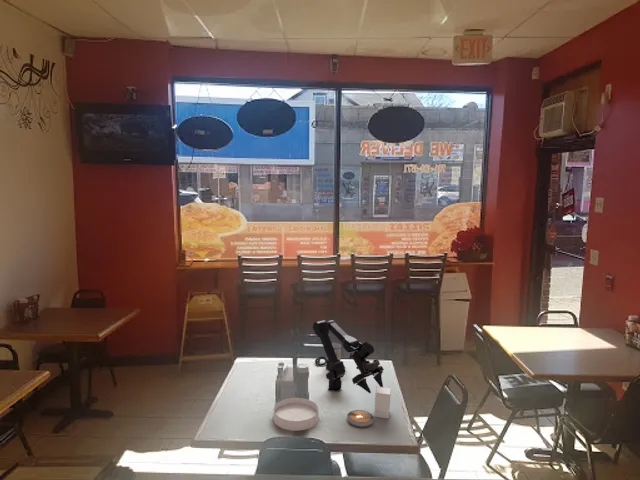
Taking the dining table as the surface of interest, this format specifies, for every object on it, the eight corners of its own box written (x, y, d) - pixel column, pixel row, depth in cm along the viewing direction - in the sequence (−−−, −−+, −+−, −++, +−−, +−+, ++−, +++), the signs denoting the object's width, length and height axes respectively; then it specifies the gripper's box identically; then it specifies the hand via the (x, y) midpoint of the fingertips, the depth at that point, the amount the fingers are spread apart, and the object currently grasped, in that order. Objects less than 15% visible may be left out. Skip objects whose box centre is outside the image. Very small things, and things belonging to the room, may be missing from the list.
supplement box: (388, 418, 225) (390, 394, 223) (373, 416, 226) (374, 392, 224) (389, 411, 232) (391, 387, 230) (375, 409, 234) (376, 385, 232)
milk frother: (341, 372, 275) (342, 348, 273) (314, 371, 275) (315, 347, 272) (339, 362, 289) (340, 339, 287) (314, 361, 289) (315, 339, 286)
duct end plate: (345, 426, 218) (345, 421, 217) (348, 411, 230) (348, 408, 230) (372, 429, 215) (373, 425, 215) (374, 415, 228) (374, 411, 228)
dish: (328, 419, 224) (328, 409, 223) (294, 437, 208) (294, 426, 207) (297, 402, 239) (297, 393, 238) (263, 417, 224) (263, 407, 223)
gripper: (357, 359, 226) (373, 389, 219) (382, 350, 238) (397, 378, 232) (345, 369, 233) (360, 398, 226) (370, 360, 245) (385, 387, 239)
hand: (376, 390), depth 231 cm, fingers open, 9 cm apart
